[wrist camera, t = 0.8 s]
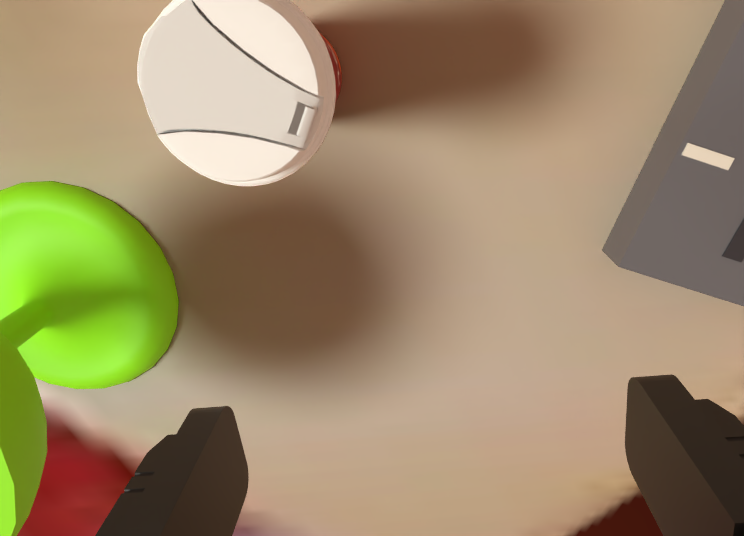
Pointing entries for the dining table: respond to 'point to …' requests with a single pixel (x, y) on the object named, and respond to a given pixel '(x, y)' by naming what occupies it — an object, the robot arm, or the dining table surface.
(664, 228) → the console
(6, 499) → the wineglass
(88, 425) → the dining table surface
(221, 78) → the paper cup
